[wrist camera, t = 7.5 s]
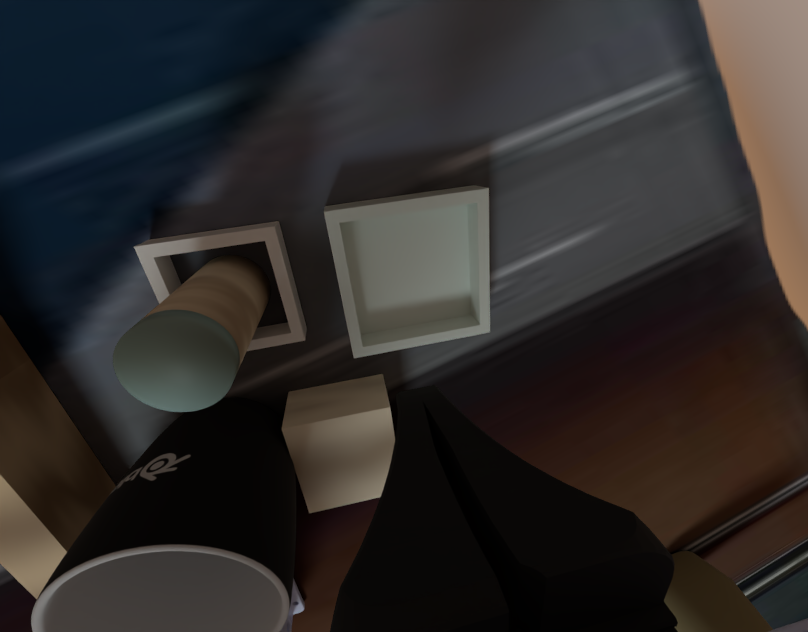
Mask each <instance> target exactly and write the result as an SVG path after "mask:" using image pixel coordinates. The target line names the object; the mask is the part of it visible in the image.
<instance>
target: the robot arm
mask: <svg viewBox="0 0 808 632" xmlns="http://www.w3.org/2000/svg"><path fill="white" fill-rule="evenodd" d="M396 401H397V408H398V418H397V429H396V437H395V443H394V448H393V454H392V459H391V463H390V467H389V471H388V475H387V478H386V482H385V485H384V488H383V491H382V494H381V497H380V500H379V503H378V506H377V509H376V512H375V514H374V517H373V519H372V522H371V524H370V526H369V529H368V531H367V533H366V536H365V538H364V540H363V543H362V545H361V547H360V549H359V551H358V554H357V556H356V558H355V560H354V561H353V563H352V565H351V567H350V569H349V571H348V573H347V575H346V577H345V579H344V581H343V583H342V585H341V587H340V590H339V594H338V598H337V602H336V606H335V610H334V615H333V620H332V624H331V630H330V632H678V631H677V630H676V628H675V627H676V626H677V624H678V622H677V619H676V617H675V616H674V614H673V613H672V612H671V610H670V609H669V608H668V606H667V605H666V604H665V602H664V599H665V596H666V594H667V591H668V588H669V586H670V583H671V581H672V578H673V573H674V566H675V564H674V560H673V557H672V555H671V554H670V553H669V551H668V550H667V549H666V548H665V547H664V545H663V544H662V543H661V542H660V541H659V540H658V538H657V537H656V536H655V535H654V534H653V533H652V531H651V530H650V529H649V528H648V527H647V526H646V525H645V524H644V523H643V522H642V521H641V520H640V519H639V518H638V517H637V516H636V515H635V514H634V513H633V512H631V511H629V510H626V509H624V508H621V507H619V506H616V505H614V504H611V503H609V502H606V501H604V500H601V499H599V498H596V497H594V496H591V495H589V494H587V493H585V492H583V491H580V490H578V489H576V488H574V487H572V486H570V485H568V484H566V483H564V482H562V481H560V480H558V479H556V478H554V477H552V476H550V475H549V474H547V473H545V472H543V471H541V470H539V469H538V468H536V467H534V466H532V465H531V464H529V463H527V462H526V461H524V460H523V459H521V458H519V457H518V456H516V455H515V454H513V453H512V452H510V451H509V450H507V449H506V448H505V447H503V446H502V445H500V444H499V443H498V442H496V441H495V440H494V439H492V438H491V437H490V436H489V435H487V434H486V433H485V432H484V431H482V430H481V429H480V428H479V427H477V426H476V425H475V424H474V423H473V422H472V421H471V420H469V419H468V418H467V417H466V416H465V415H464V414H463V413H462V412H461V411H460V410H459V409H457V408H456V407H455V406H454V405H453V404H452V403H451V402H450V401H449V400H448V399H447V398H446V396H445V395H444V394H443V393H442V392H441V391H440V390H439V389H438V388H437V387H436V386H434V385H432V386H427V387H422V388H417V389H412V390H407V391H402V392H398V394H397V395H396ZM304 606H305V604H304V601H303V599H302V597H301V594H300V592H299V590H298V587H297V585H296V583H295V580H294V579H293V589H292V598H291V605H290V609H289V613H288V617H287V619H286V622H285V624H284V625H283V627H282V629H281V630H280V631H279V632H291V629H292V617H293V614H297V613H300V612H302V611H303V610H304ZM768 632H808V619H805V620H802V621H799V622H796V623H793V624H789V625H786V626H783V627H780V628H777V629H774V630H771V631H768Z"/></svg>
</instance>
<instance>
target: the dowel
mask: <svg viewBox="0 0 808 632" xmlns="http://www.w3.org/2000/svg"><path fill="white" fill-rule="evenodd" d="M270 294H271V286H270V282H269V279H268V277H267V275H266V274H265V272H264V271H263V270H262V268H261V267H260V266H258V265H257V264H256V263H255V262H253V261H251V260H249V259H247V258H245V257H242V256H237V255H223V256H219V257H216V258H214V259H212V260H210V261H209V262H208V263H207V264H205V265H204V266H203V267H202V268H201V269H200V270H198V271H197V272H196V273H195V274H194V275H193V276H191V277H190V278H189V279H188V280H187V281H186V282H184V283H183V284H182V285H181V286H180V287H179V288H177V289H176V290H175V291H174V292H173V293H172V294H170V295H169V296H168V297H167V298H166V299H165V300H164V301H162V302H161V303H160V304H159V305H158V306H157V307H155V308H154V309H153V310H152V311H151V312H150V313H148V314H147V315H146V316H145V317H144V318H143V319H141V320H140V321H139V322H138V323H137V324H136V325H134V326H133V327H132V328H131V329H130V330H129V331H127V332H126V333H125V334H124V335H123V336H122V337H121V339H120V340H119V342H118V343H117V345H116V347H115V350H114V354H113V366H114V370H115V374H116V376H117V378H118V380H119V381H120V383H121V384H122V386H123V387H124V388H125V389H126V390H127V391H128V392H129V393H130V394H131V395H132V396H134V397H135V398H136V399H138V400H139V401H141V402H143V403H145V404H147V405H149V406H151V407H154V408H157V409H161V410H165V411H171V412H191V411H197V410H201V409H204V408H207V407H209V406H211V405H213V404H215V403H217V402H218V401H219V400H221V399H222V398H223V397H224V396H225V395H226V394H227V392H228V391H229V389H230V388H231V386H232V383H233V381H234V379H235V377H236V374H237V372H238V370H239V367H240V365H241V363H242V361H243V358H244V356H245V354H246V351H247V349H248V347H249V345H250V342H251V340H252V338H253V335H254V333H255V331H256V329H257V326H258V324H259V322H260V319H261V317H262V315H263V313H264V310H265V308H266V306H267V303H268V301H269V299H270Z"/></svg>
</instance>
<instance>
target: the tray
mask: <svg viewBox="0 0 808 632" xmlns="http://www.w3.org/2000/svg"><path fill="white" fill-rule="evenodd" d="M324 215H325V220H326V225H327V230H328V235H329V240H330V245H331V250H332V254H333V259H334V264H335V269H336V274H337V279H338V284H339V289H340V293H341V298H342V303H343V308H344V313H345V318H346V323H347V328H348V333H349V337H350V342H351V347H352V352H353V357H354V358H359V357H364V356H370V355H375V354H380V353H385V352H390V351H395V350H401V349H406V348H411V347H416V346H421V345H427V344H432V343H437V342H442V341H447V340H453V339H458V338H463V337H468V336H473V335H478V334H484V333H489V332H490V266H489V188H486V187H481V186H476V185H471V186H464V187H457V188H450V189H443V190H435V191H428V192H421V193H414V194H407V195H400V196H393V197H386V198H379V199H372V200H365V201H358V202H350V203H343V204H336V205H329V206H325V207H324Z"/></svg>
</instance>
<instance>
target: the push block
mask: <svg viewBox="0 0 808 632" xmlns="http://www.w3.org/2000/svg"><path fill="white" fill-rule="evenodd" d="M282 432H283V435H284V438H285V441H286V444H287V447H288V450H289V453H290V456H291V458H292V461H293V463H294V467H295V471H296V474H297V477H298V480H299V483H300V486H301V489H302V492H303V495H304V498H305V501H306V504H307V508H308V511H309V513H313V512H318V511H322V510H326V509H331V508H335V507H339V506H344V505H348V504H352V503H357V502H361V501H365V500H370V499H374V498H378V497H381V494H382V491H383V488H384V485H385V482H386V478H387V475H388V471H389V467H390V463H391V459H392V454H393V448H394V443H395V435H394V429H393V422H392V415H391V409H390V404H389V399H388V395H387V390H386V386H385V382H384V377H383V374H379V375H374V376H368V377H363V378H358V379H353V380H347V381H342V382H337V383H332V384H327V385H321V386H316V387H311V388H306V389H300V390H295V391H290V392H288V397H287V402H286V408H285V413H284V419H283V424H282Z"/></svg>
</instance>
